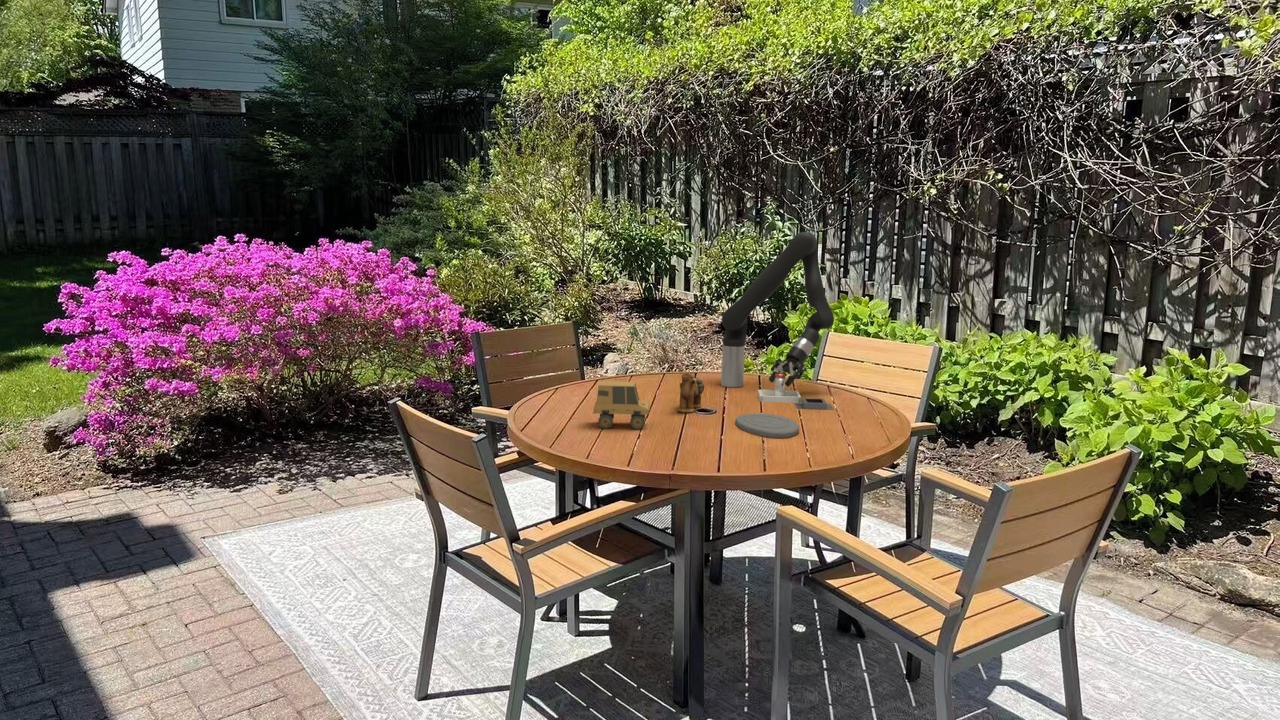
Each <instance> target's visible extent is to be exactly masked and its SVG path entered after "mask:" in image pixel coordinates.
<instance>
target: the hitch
mask: <svg viewBox="0 0 1280 720" xmlns="http://www.w3.org/2000/svg"><path fill="white" fill-rule="evenodd" d="M793 404H794V406H795V409H797V410H818V411H819V410H823V411H825V410H826V411H835V408H834V407H833V405H832V404H831V403H827V401H826V400H825V399H824V398H819V397H817V398H815V397H814V398H812V397H810V398H809V397H801V403H793Z"/></svg>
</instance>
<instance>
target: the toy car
mask: <svg viewBox="0 0 1280 720" xmlns="http://www.w3.org/2000/svg"><path fill="white" fill-rule="evenodd" d="M593 414H599V418H598V425H599V427H600V428H602V429H603V430H604V429H605V430H606V429H610V428H611V427H612V426H613V423H614V418H615V415H630V417H631V419H630V423H629V424H630V426H631V428H632V429H634V430H642V429H643V428H644V426H645V425H646V424H645V423H646V421H645V419H646V416H647V415H648V416H649V415H650V403H649V402H647V401H643V400H640V396H639V392H638V389H637V383H636V381H618V380H617V381H616V380H615V381H613V380H612V381H611V380H610V381H609V380H607V381H606V380H600V381H599V383H598V387H597V395H596V401H595V403H594V406H593Z"/></svg>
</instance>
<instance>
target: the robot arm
mask: <svg viewBox="0 0 1280 720" xmlns="http://www.w3.org/2000/svg"><path fill="white" fill-rule="evenodd" d="M818 253H819V252H818V239H817V237H816V236H815V235H814V233H811V232H810V231H809V232H808V231H803V232H801V231H800V232H799V233H796V234H795V235H794V236H793V238H792V239H791V240H790V241H789V243H788V244H787V246H786V247H785V248H784V249H783V251H782V252H781V253H780V254H779V256H778V257H777V258H775V259H774V260H773V261H772V262H771V263H770V264H769V265H767V267H765V269H764V270H762V272H761V273H760V274H759V275H758V276H757V277H756V278H755V279H754V280H753V282H752V283H751V284H750V285H749V287H747V289H746V290H745V291H744V293H743V294H742V296H740V297H739V299H737V300H736V302H734V303H733V304H732V305H730V307H728V308H727V309H726V310H725V311H724V312H723V314H722V315H721V323H722V326H723V327H724V329H725V331H724V336H723V338H722V351H721V353H722V356H721V357H722V358H721V360H722V361H721V373H720V375H721V376H720V384H721V387H725V388H740V387H741V388H742V387H743V386H744V377H745V376H744V374H745V353H746V352H745V350H746V349H745V348H746V340H747V333H748V332H747V330H748V317H749V316H750V314H751V313H752V312H753V311H754V310H755V309H756V308H757V307H759V306H760V305H761V304H762V303H764V302H765V301H766V300H768V299H769V298H770V297H771V296H772V295H773V294H774V293H775V292H776V291H777V290H778V289H779V288H780V287H781V285H782V284H783V283H784V281H785V280H786V279H787V277H788V276H789V274H790V273H791V271H792V269H793V268H794V267H795V266H796V265H797V264H799V262H801V261H802V266H803V273H804V285H805V288H804V289H805V292H806V297H807V302H808V305H809V306H810V307H812V308H814V309H815V311H816V312H813V313H812V314H811V315H810V316H809V317H808V319H807V321H806V324H805V327H804V330H803V331H802V333H801V334H800V336H798V338H797V340H796V341H795V342H794V343H793V344H792V346H791V347H790V349H789V350H788V352H787V354H786V355H785V358H784V360H783V359H781V358H777V359H776V361H775V362H774V363H773V364H772V366H771V368H770V371H771V372H772V374H770V376H769V377H768V381H769V382H770V383H771V384H772V383H775V373H787V374H790V375H788V377H787V378H786V379H785V387H787V388H789V387H790V386H791V385H792V383H793V382H794V381H795V380H801V378H802V376H803V375H804V373H805V371H806V369H807V366H806V365H805V362H806V361H807V360H808V358H809V356H810V355H811V353H812V352H813V349H814V348H815V346H817V344H818V342H819V340H820V338H821V335H820V333H819V332H820V331H821V330H825V329H830V328H832V327H833V324H834V321H835V316H834V313H833V311H832V309H831V306H830V305H829V303H828V301H827V297H826V293H825V287H824V283H823V280H822V274H821V270H820V265H819V263H820V262H819V256H818V255H819V254H818Z"/></svg>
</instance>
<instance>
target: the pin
mask: <svg viewBox="0 0 1280 720" xmlns="http://www.w3.org/2000/svg"><path fill="white" fill-rule="evenodd" d="M786 374H787V373H786V372H784V373H775V380H774V390H775V393H774V396H785V390H786V385H785V382H786V377H787V376H786Z"/></svg>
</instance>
